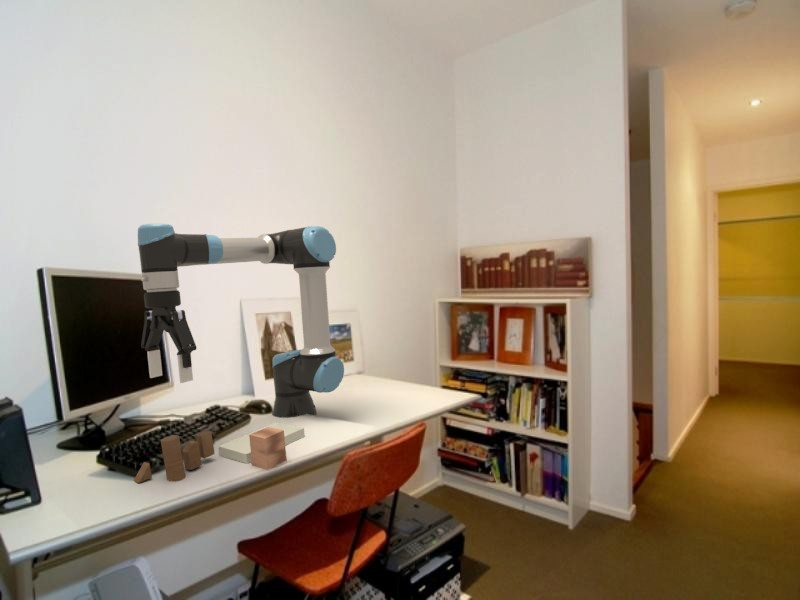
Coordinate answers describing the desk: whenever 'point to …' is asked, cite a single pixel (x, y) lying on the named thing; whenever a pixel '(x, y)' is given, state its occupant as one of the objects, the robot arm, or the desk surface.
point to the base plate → (241, 445)
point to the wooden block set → (180, 456)
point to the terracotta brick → (267, 448)
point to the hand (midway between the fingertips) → (170, 379)
